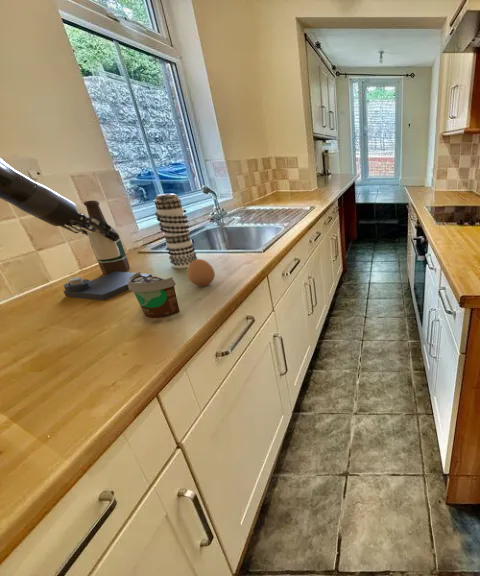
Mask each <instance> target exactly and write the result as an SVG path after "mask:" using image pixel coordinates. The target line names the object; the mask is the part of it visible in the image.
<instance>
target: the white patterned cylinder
mask: <svg viewBox="0 0 480 576" xmlns="http://www.w3.org/2000/svg"><path fill="white" fill-rule="evenodd" d="M154 198H155V199H153V200H152V201H154V206H155V213H154V216H156V220H157V222H159V223H158V226H159V227H160V231H161V232H162V236H164V239H165V244H166V250H167V251H168V252H167V254H168V255H169V257H168V259H169V260H170V264H171V267H172V268H175V269H183V268H188V267H189V265H190V263H191V262H192V261H194V260H197V259H198V257H197V253H196V252H195V251H196V249H195V247H194V246H195V244H194V243H193V241H192V238H191V235H190V232H191V230H190V229H189V228H190V225H187V223H189V220H188V219H187V218H188V216H187V215H186V214H185V213H187V210H186V209H184V206H183V205H182V201H181V199H182V197H179V196H178V195H177V194H176V193H160V194H157V195H156V196H155V197H154Z"/></svg>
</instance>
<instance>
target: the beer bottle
mask: <svg viewBox="0 0 480 576" xmlns="http://www.w3.org/2000/svg"><path fill="white" fill-rule="evenodd" d="M83 206H85V209H86V211H87V214H88V215H87V216H88V217H89V218H92V216H96V217H98V218H99V219H101V220H102V221H104V222H105V223H107V224H108V222H107V220H106V218H105V216H104V213H103V212H102V209H101V207H100V202H99V201H98V200H86V201H84V202H83ZM111 229H112V231H113V232H114V233H116V234H118V235H119V233H118V232H117V231H116V230H115V229H114V228H113V227H112V228H111ZM88 240H89V243H90V246H91V248H92V251H93V253H94V255H95V258H96V260H97V263H98V265H99V268H100V271H101V272H102V274H104V275H107V274H110V273H113V272H116V271H118V272H127V271H128V272H129V270H130V269H131V266H130V262H129V261H128V258H127V254H126V252H125V248H124V246H123V244H122V243H123V242H122V240H121V238H120V237H119V238H118V240H117V241H116V243H117V246H118V249H119V252H120V256H118V257H116V258H112V259H105V260H99V259H97V257H96V254H95V252H94V249H93V247H92V244H91V242H90V239H89V238H88Z"/></svg>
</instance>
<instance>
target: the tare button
mask: <svg viewBox="0 0 480 576" xmlns="http://www.w3.org/2000/svg"><path fill="white" fill-rule="evenodd" d="M69 282H70V284H71V285H79V284H82V283H84V282H83V278H82V276H75V277H72V278H71V277H70V278H69V279H68V283H69Z"/></svg>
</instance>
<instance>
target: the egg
mask: <svg viewBox="0 0 480 576" xmlns="http://www.w3.org/2000/svg"><path fill="white" fill-rule="evenodd" d="M186 274H187V278H188V281H189V282H190V283H191V284H193V285H195V286H197V287H206V286H209V285H210V284H212V282H213V281H214V279H215V277H216V274H215V269H214V267H213V266H212V265H211V263H210V262H209V261H207V260H205V259H201V258H197V260H194V261H192V262H191V263H190V265H189V267H187V270H186Z"/></svg>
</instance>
